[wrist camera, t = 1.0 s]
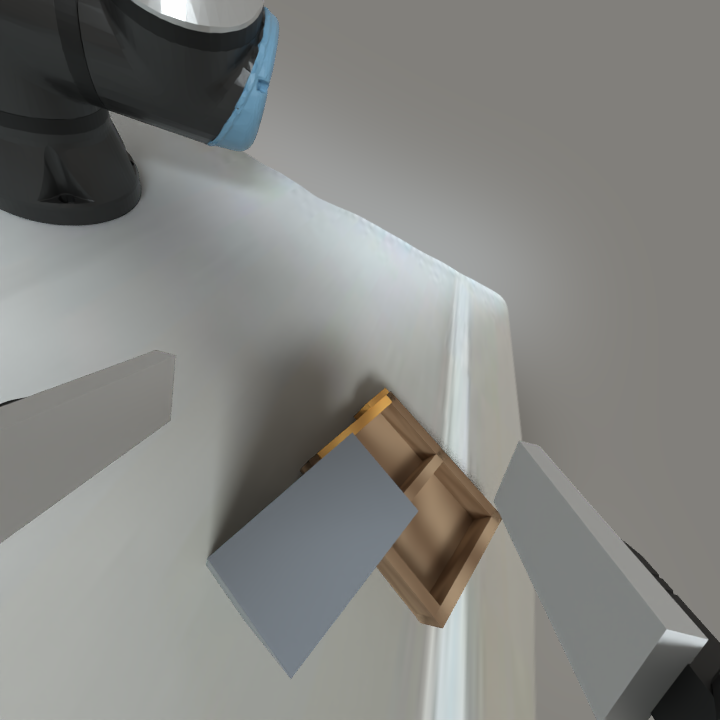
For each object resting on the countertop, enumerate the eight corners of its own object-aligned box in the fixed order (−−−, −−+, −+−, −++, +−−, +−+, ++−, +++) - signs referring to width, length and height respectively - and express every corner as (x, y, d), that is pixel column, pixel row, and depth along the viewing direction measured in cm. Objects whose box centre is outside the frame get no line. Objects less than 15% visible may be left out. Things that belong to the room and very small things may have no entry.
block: (244, 621, 25) (291, 678, 11) (206, 565, 26) (207, 558, 12) (322, 538, 30) (418, 510, 16) (287, 493, 30) (352, 432, 17)
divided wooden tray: (420, 623, 29) (449, 630, 26) (296, 465, 32) (307, 452, 28) (480, 521, 36) (509, 516, 33) (374, 399, 39) (391, 383, 36)
